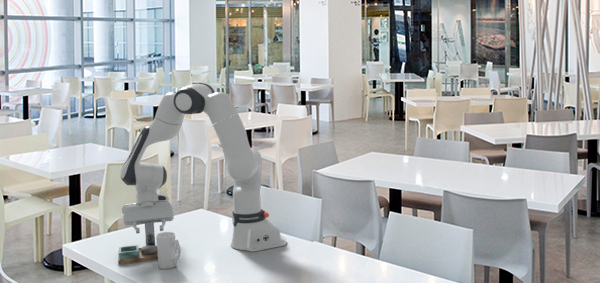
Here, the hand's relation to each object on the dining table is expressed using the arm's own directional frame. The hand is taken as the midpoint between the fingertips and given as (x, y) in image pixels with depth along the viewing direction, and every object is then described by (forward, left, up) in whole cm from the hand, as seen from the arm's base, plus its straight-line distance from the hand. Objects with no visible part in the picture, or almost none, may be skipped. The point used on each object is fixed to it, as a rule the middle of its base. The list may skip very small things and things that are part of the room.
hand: (149, 231), depth 232 cm
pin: (0, 0, -6) cm, 6 cm away
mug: (-6, +27, -6) cm, 28 cm away
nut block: (+5, +12, -6) cm, 14 cm away
